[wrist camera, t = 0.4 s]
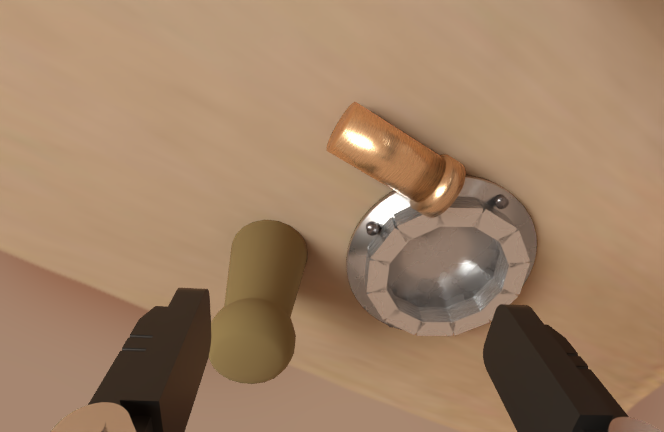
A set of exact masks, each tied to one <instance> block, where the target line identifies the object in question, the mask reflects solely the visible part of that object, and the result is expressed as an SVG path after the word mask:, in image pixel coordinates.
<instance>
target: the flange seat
mask: <svg viewBox="0 0 664 432" xmlns="http://www.w3.org/2000/svg"><path fill="white" fill-rule="evenodd" d="M409 200H410V199H409V198H407V197H405V196H403V195H402V194H400V193H398V192H397V191H395V190H393V191H392V192H390V193H389V194H387V195H386V196H384V197H383V198H382V199H380V200H379V201H378V202H377V203H376V204H375V205H373V206H372V207H371V208H370V209H369V210H368V212H367V213H366V214H365V215H364V216H363V217H362V219H361V220H360V222H359V224H358V225H357V227H356V228H355V230H354V233H353V235H352V237H351V240H350V243H349V246H348V252H347V274H348V280H349V284H350V287H351V289H352V292H353V294H354V295H355V297H356V299H357V300H358V302H359V303H360V304H361V306H362V307H363V308H364V309H365V310H366V311H367V312H368V313H369V314H371V315H372V316H373V317H375V318H376V319H378V320H379V321H381V322H383V323H385V324H387V325H388V326H389V327H395V328H398V329H401V330H405V331H407V332H409V333H411V334H413V335H415V334H416V335H417V336H453V333H454V335H458V334H460V333H463V332H465V331H468V330H471V329H473V328H476V327H479V326H481V325H484V324H487V323H489V320H491V321H492V319H493V316H494V313H495V310H496V308H497V307H498V306H499V305H500V304H507V305H510V304H511V303H512V302H513V301H514V300H515V299H516V298H517V297H518V295H517V294H520V292H521V289H522V286H523V285H524V283H525V282H526V280H527V278H528V276H529V274H530V272H531V270H532V267H533V264H534V261H535V257H536V249H537V240H536V232H535V228H534V224H533V222H532V220H531V217H530V215H529V214H528V212H527V211H526V209H525V208H524V206H523V205H522V204H521V203H520V202H519V201H518V200H517V199H516V198H515V197H514V196H513V195H512V194H511V193H510V192H508V191H507V190H506V189H505V188H503V187H501V186H499V185H497V184H496V183H494V182H491V181H489V180H486V179H483V178H480V177H475V176H470V175H466V177H465V182H464V185H463V187H462V190H461V192H460V194H459V195H458V197H457V198H456V200H455V201H454V203H453V204H452V205H451V206H450V207H449V208H448V209H447V210H446V211H445V212H444V213H442V214H441V215H439V216H437V217H434V218H428V217H426V216H424V215H423V214H421V213H419V212H418V211H416V210H414V209H412V208H411V206H410V202H409ZM488 319H489V320H488Z"/></svg>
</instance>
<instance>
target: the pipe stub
mask: <svg viewBox="0 0 664 432" xmlns="http://www.w3.org/2000/svg"><path fill="white" fill-rule="evenodd" d="M327 151H328V152H330V153H332V154H333V155H335V156H337V157H338V158H340V159H342V160H344V161H345V162H347V163H349V164H350V165H352V166H354V167H355V168H357V169H359V170H361V171H362V172H364V173H366V174H367V175H369V176H371V177H373V178H374V179H376V180H378V181H379V182H381V183H383V184H385V185H386V186H388V187H390V188H391V189H393V190H395V191H397V192H398V193H400V194H402V195H403V196H405V197H407V198H409V199H410V200H409V202H410V206H411V208H412V209H414V210H416V211H418V212H419V213H421V214H423V215H424V216H426V217H428V218H434V217H437V216H439V215H441V214H442V213H444V212H445V211H446V210H447V209H448V208H449V207H450V206H451V205H452V204H453V203H454V201H455V200H456V198H457V197H458V195H459V194H460V192H461V190H462V187H463V185H464V182H465V177H466V170H465V167H464V165H462V164H461V163H459V162H458V161H456V160H455V159H453V158H452V157H450V156H449V155H446V154H442V155H438V154H437V153H435V152H434V151H432V150H430V149H429V148H427V147H426V146H424V145H423V144H421V143H419V142H418V141H416V140H415V139H413V138H412V137H410V136H408V135H407V134H405V133H404V132H402V131H401V130H399V129H397V128H396V127H394V126H393V125H391V124H390V123H388V122H386V121H385V120H383V119H382V118H380V117H379V116H377V115H375V114H374V113H372V112H371V111H369V110H368V109H366V108H365V107H363V106H361V105H360V104H358V103H357V102H354V103H352V104H351V105H350V106H349V107H348V109H347V110H346V111H345V112H344V114H343V115H342V117H341V118H340V120H339V122H338V123H337V125H336V127H335V129H334V130H333V132H332V134H331V137H330V139H329V141H328V144H327Z"/></svg>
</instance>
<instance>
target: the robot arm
mask: <svg viewBox="0 0 664 432" xmlns="http://www.w3.org/2000/svg"><path fill="white" fill-rule="evenodd" d="M210 347H211V316H210V297H209V291H208V289H193V288H178V289H177V291H176V293H175V295H174V297H173V298H172V300H171V302H170V304H169V306H168V307H162V306H155V307H154V308H153V309H151V310H150V311H149V312H148V313H146V314H145V315H144V316H143V317H142V318H140V319H139V321H138V322H137V324H136V326H135V327H134V329H133V331H132V332H131V334H130V338H128V339H127V341H126V342H125V344H124V346H123V348H122V351H120V352H119V354H118V356H117V358H116V359H115V361H114V362H113V364H112V366H111V367H110V369H109V371H108V372H107V374H106V376H105V377H104V379H103V381H102V382H101V384H100V386H99V388H98V389H97V391H96V393H95V394H94V396H93V398H92V399H91V401H90V402H89V404H88V405H87V406H84V407H81V408H79V409H77V410H75V411H73V412H72V413H70V414H69V415H67V416H66V417H64V418H63V419H62V420H61V421H59V422H58V423H57V424H56V425H55V426H54V428H53V429H52V430H51V432H185V429H186V425H187V422H188V419H189V416H190V413H191V410H192V407H193V404H194V401H195V397H196V394H197V391H198V388H199V385H200V382H201V379H202V376H203V372H204V369H205V366H206V363H207V360H208V357H209V352H210ZM483 358H484V364H485V367H486V370H487V372H488V374H489V376H490V378H491V380H492V382H493V384H494V386H495V388H496V390H497V392H498V394H499V396H500V398H501V400H502V402H503V404H504V406H505V408H506V410H507V412H508V414H509V416H510V418H511V420H512V422H513V424H514V426H515V428H516V430H517V432H662V431H661V430H659V429H657V428H656V427H654V426H652V425H650V424H648V423H646V422H644V421H641V420H638V419H635V418H631V417H628V415H627V414H626V413H625V412H624V410H623V409H622V408H621V407H620V405H619V404H618V403H617V402H616V400H615V399H614V398H613V397H612V395H611V394H610V393H609V392H608V390H607V389H606V388H605V387H604V385H603V384H602V383H601V382H600V381H599V379H598V378H597V377H596V376H595V374H594V373H593V372H592V371H591V370H590V369H588V366H587V364H586V363H585V362H584V361H583V359H582V358H581V357H580V356H578V353H577V352H576V351H575V349H574V348H573V347H572V346H571V344H570V343H569V342H568V341H567V339H566V338H565V337H563V336H562V335H561V334H559V333H558V332H557V331H555V330H554V329H553V328H552V327H550V326H549V325H544V324H543V322H542V321H541V320H540V319H539V317H538V316H537V315H536V313H535V312H534V311H533V309H532V308H531V307H529V306H527V305H507V304H500V305H499V306H498V307H497V308H496V310H495V313H494V316H493V319H492V322H491V325H490V329H489V332H488V335H487V338H486V341H485V344H484V349H483Z"/></svg>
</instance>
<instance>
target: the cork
mask: <svg viewBox="0 0 664 432" xmlns="http://www.w3.org/2000/svg"><path fill="white" fill-rule="evenodd" d="M307 254H308V251H307V247H306V243H305V241H304V239H303V238H302V236H301V235H300V234H299V232H297V231H296V230H295V229H293V228H292V227H291V226H289V225H287V224H284V223H282V222H279V221H272V220H262V221H256V222H253V223H251V224H249V225H247V226H245V227H243V228H242V229H241V230H240V231H239V232H238V233H237V234H236V236H235V238H234V240H233V243H232V248H231V256H230V264H229V272H228V280H227V288H226V297H225V305H224V308H222V309H221V310H220V311H219V312H218V313H217V315H216V316H215V317H214V319H213V321H212V323H211V347H210V352H209V359H210V361H211V363H212V366H213V367H214V368H215V369H216V370H217V371H218V372H219V373H220V374H221V375H223V376H224V377H226V378H228V379H230V380H233V381H236V382H240V383H249V384H255V383H262V382H266V381H268V380H271V379H273V378H275V377H276V376H277V375H279V374H280V373H281V372H282V371H283V370H284V369H285V368H286V367H287V365H288V364H289V362H290V360H291V358H292V356H293V354H294V348H295V337H296V335H295V331H294V327H293V324H292V321H291V318H290V316H291V313H292V310H293V306H294V303H295V299H296V296H297V292H298V289H299V286H300V282H301V279H302V275H303V272H304V268H305V265H306V262H307Z"/></svg>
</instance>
